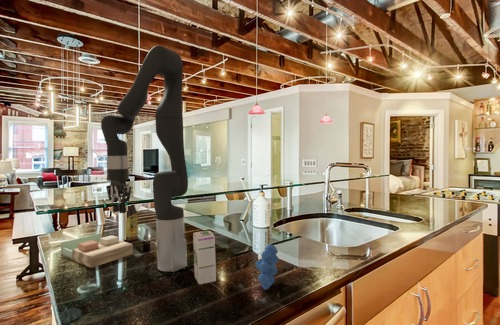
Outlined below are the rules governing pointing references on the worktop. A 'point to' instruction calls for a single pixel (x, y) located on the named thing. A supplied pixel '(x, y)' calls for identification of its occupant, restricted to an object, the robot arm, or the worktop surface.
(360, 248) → the worktop surface
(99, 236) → the box
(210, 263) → the syrup box
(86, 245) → the terracotta tile
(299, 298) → the worktop surface
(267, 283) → the grapes
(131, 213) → the sauce bottle
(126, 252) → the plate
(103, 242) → the white tile
